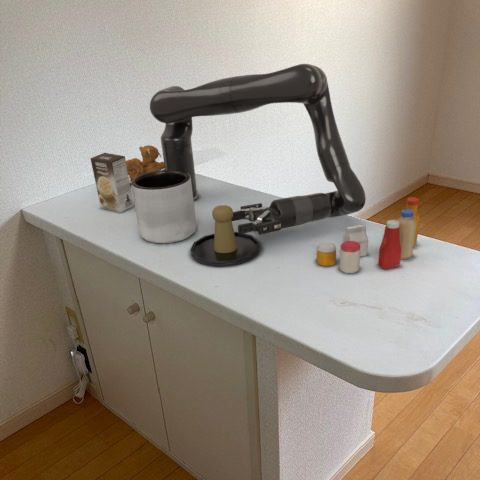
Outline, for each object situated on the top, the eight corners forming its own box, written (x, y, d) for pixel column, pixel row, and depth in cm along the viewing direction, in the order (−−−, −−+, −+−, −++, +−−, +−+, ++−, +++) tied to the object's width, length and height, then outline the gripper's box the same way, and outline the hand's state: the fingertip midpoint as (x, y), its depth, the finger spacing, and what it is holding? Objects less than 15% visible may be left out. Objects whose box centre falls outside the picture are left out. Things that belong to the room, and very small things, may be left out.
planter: (128, 240, 142) (117, 185, 134) (161, 218, 154) (153, 167, 145) (176, 249, 136) (168, 192, 127) (208, 226, 147) (202, 172, 139)
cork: (229, 254, 129) (225, 213, 123) (209, 250, 132) (204, 209, 126) (241, 245, 133) (239, 204, 127) (222, 241, 136) (218, 201, 130)
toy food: (409, 239, 132) (415, 193, 125) (437, 260, 121) (445, 212, 115) (310, 256, 128) (311, 209, 121) (330, 279, 117) (332, 230, 110)
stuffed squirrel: (172, 184, 180) (167, 146, 172) (134, 193, 174) (127, 154, 167) (161, 177, 187) (155, 140, 180) (124, 186, 182) (117, 148, 174)
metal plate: (176, 256, 132) (175, 251, 131) (220, 231, 144) (219, 226, 143) (232, 273, 123) (232, 268, 122) (274, 244, 134) (274, 239, 134)
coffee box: (99, 208, 164) (88, 158, 156) (114, 201, 169) (103, 152, 160) (121, 213, 160) (110, 161, 151) (134, 206, 165) (125, 155, 156)
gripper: (280, 189, 138) (222, 200, 134) (303, 207, 126) (241, 219, 122) (280, 216, 142) (225, 227, 138) (303, 235, 130) (243, 248, 126)
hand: (232, 223), depth 130 cm, fingers open, 8 cm apart
